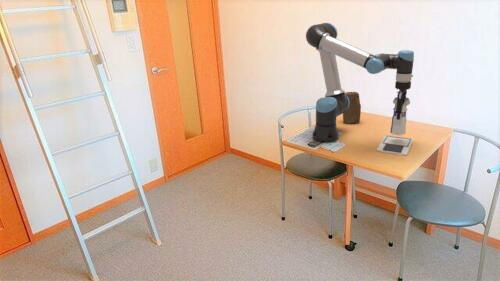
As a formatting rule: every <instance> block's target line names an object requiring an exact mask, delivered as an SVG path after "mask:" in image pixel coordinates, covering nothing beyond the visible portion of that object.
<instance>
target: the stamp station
mask: <svg viewBox="0 0 500 281" xmlns="http://www.w3.org/2000/svg"><path fill="white" fill-rule="evenodd" d="M413 142H414V139H413V138H410V137H409V138H407V137H400V136H395V135H394V136H393V135H385V136H384V137H383V138H382V140H381V142H380V143H379V145H378V147H377V149H376V152H380V153H387V154H393V155H399V156H405V157H407V156H408V154H409V151H410V149H411V147H412V145H413Z"/></svg>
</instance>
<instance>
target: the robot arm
mask: <svg viewBox="0 0 500 281" xmlns="http://www.w3.org/2000/svg"><path fill="white" fill-rule="evenodd" d="M305 39H306V42H307V44H308V45H309V46H311V47H313V48H315V50H316V51H318V52H319V58H320V63H321V68H322V73H323V77H324V82H325V83H324V84H325V89H326V93H325V94H324V97H320V98H318V99H317V100H316V103H315V104H316V105H315V126H314V129H313V131H312V139H313V140H314V141H316V140H317V141H316V142H319V141H324V142H323V143H332V142H336V141H338V140H339V139H340V138H339V137H340V134H339V131H338V128H337V117H339V116H340V115H343V113H344V112H345V111H346V110H347V109H348V108H349V105H350V101H349V98H348V97H347V96H346V95H345V93H346V92H345V90H344V89H342V86H341V79H340V72H339V69H338V62H337V59H336V58H337V57H340V58H342V59H344V60H346V61H348V62H351V63H353V64H355V65H357V66H359V67H362V68H364V69H366V71H367V72H368V73H369V74H371V75H375V74H377V75H378V74H379V73H381V72H383V71H385V70H387V69H388V70H396V72H395V84H394V85H395V86H394V88H395V89H396V90H398V92H399V91H400V90H401V91H400V92H402V93H400V92H399V95H398V94H397V95H396V97H397V106H396V112H395V113H396V121H395V125H401V117H402V106H403V103H404V102H405V99H406V98H407V92H408V90H410V89H411V87H412V77H414V74H413V69H414V61H415V59H414V58H415V57H414V56H415V55H414V54H415V52H414V51H413V50H407V49H402V50H399V51H398V53H397V54H395V53H393V54H392V53H376V54H375V55H374V54H373V53H372V54H371V53H370V52H367V51H366V50H362V49H360V48H358V47H355V46H354V45H352V44H349V43H347V42H344V41H342V40H341V39H340V40H339V39H338V30H337V27H336V25H333V24H332V23H329V22H322V23H318V24H313V25H311V26H309V28H307V30H306V32H305ZM336 56H337V57H336ZM403 92H404V93H403Z"/></svg>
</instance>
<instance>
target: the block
mask: <svg viewBox="0 0 500 281" xmlns="http://www.w3.org/2000/svg"><path fill="white" fill-rule="evenodd" d="M345 95H346V96H347V97H348V98H349V101H350V105H349V108H348V109H347V110H346V111H345V112H344V113H342V121H343V123H345V124H348V125H349V124H351V125H352V124H359V123H360V121H361V115H362V114H361V113H362V112H361V110H362V107H361V106H362V105H361V102H360V94H359V92H357V91H346V92H345Z"/></svg>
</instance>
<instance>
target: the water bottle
mask: <svg viewBox="0 0 500 281" xmlns="http://www.w3.org/2000/svg"><path fill="white" fill-rule="evenodd" d="M400 91H401V90H400ZM400 91H399V90H398V91H396V94H397V95H399V92H400ZM400 93H402V92H400ZM403 93H404V92H403ZM397 97H398V96H396V97H394V99H393V101H392V103H393V104H394V107H393V115H392V118H391V125H390V126H391V127H390V134H392V135H394V136H395V135H396V136H404V135H405V134H406V128H407V127H406V125H407V111H408V109H407V107H408V106H409V105H410V104H411V101H410V98H408V97H406V99H405V102H404V103H403V106H402V117H401V125H395V121H396V113H395V112H396V106H397Z"/></svg>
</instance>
